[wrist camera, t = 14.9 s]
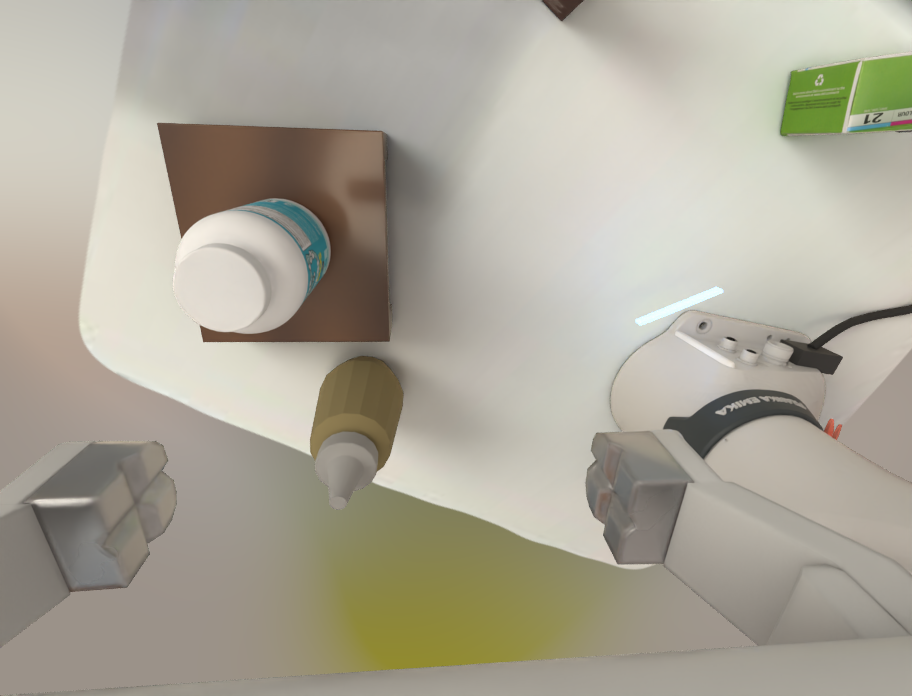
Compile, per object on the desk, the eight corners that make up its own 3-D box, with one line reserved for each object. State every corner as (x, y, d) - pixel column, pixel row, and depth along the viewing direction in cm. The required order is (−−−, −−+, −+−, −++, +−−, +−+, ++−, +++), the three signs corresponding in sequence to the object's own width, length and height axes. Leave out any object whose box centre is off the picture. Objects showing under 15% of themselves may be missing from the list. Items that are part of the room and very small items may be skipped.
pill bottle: (294, 307, 38) (236, 381, 26) (218, 246, 36) (112, 295, 23) (352, 244, 36) (319, 290, 24) (276, 175, 34) (195, 187, 21)
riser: (387, 133, 38) (382, 131, 33) (392, 322, 45) (389, 341, 40) (189, 126, 36) (156, 122, 32) (225, 322, 43) (203, 342, 39)
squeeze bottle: (320, 404, 48) (268, 536, 31) (335, 336, 45) (286, 442, 28) (394, 420, 49) (382, 554, 33) (413, 355, 46) (411, 467, 30)
